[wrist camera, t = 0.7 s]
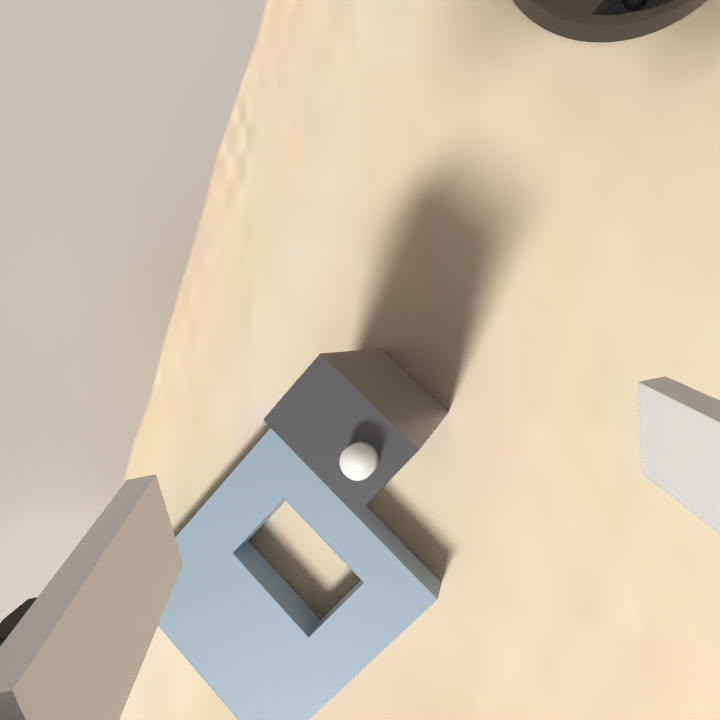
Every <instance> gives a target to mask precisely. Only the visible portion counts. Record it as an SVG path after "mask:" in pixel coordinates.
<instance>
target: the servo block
mask: <svg viewBox="0 0 720 720" xmlns="http://www.w3.org/2000/svg"><path fill="white" fill-rule="evenodd" d="M448 412H449V411H448V410H447V409H446V408H445V407H444V406H443V405H442V404H441V403H439V402H438V401H437V400H436V399H435V398H434V397H433V396H432V395H431V394H430V393H429V392H428V391H427V390H426V389H425V388H424V387H422V386H421V385H420V384H419V383H418V382H417V381H416V380H415V379H414V378H413V377H412V376H411V375H410V374H409V373H408V372H406V371H405V370H404V369H403V368H402V367H401V366H400V365H399V364H398V363H397V362H396V361H395V360H394V359H393V358H392V357H391V356H389V355H388V354H387V353H386V352H385V351H384V350H383V349H374V350H361V351H348V352H335V353H322V354H319V356H318V357H317V358H316V359H315V360H314V361H313V363H312V364H311V365H310V366H309V367H308V368H307V370H306V371H305V372H304V373H303V374H302V375H301V376H300V378H299V379H298V380H297V381H296V382H295V383H294V385H293V386H292V387H291V388H290V389H289V390H288V392H287V393H286V394H285V395H284V396H283V397H282V399H281V400H280V401H279V402H278V403H277V404H276V406H275V407H274V408H273V409H272V410H271V411H270V412H269V414H268V415H267V416H266V417H265V418H264V419H263V420H264V421H265V422H266V423H267V424H268V425H269V426H270V427H271V428H272V429H273V430H274V431H275V432H276V433H277V434H278V435H279V436H280V437H281V438H282V439H283V440H284V441H285V442H286V443H287V444H288V445H289V446H290V447H291V448H292V449H293V450H294V451H295V452H296V453H297V454H298V456H299V457H300V458H301V459H302V460H303V461H304V462H305V463H306V464H307V465H308V466H309V467H310V468H311V469H312V470H313V471H314V472H315V473H316V474H317V475H318V476H319V477H320V478H321V479H322V480H323V481H324V482H325V483H326V484H327V485H328V486H329V487H330V488H331V489H332V490H333V491H334V493H335V494H336V495H337V496H338V497H339V498H340V499H341V500H342V501H343V502H344V503H345V504H346V505H347V506H348V507H349V508H350V509H351V510H352V511H353V512H354V513H355V514H356V515H357V514H358V513H359V511H360V510H361V509H362V508H363V507H364V506H365V505H366V504H367V503H368V502H369V501H370V500H371V499H372V498H373V497H374V496H375V495H376V494H377V493H378V492H379V491H380V490H381V489H382V488H383V487H384V486H385V485H386V484H387V482H388V481H389V480H390V479H391V478H392V477H393V476H394V475H395V474H396V473H397V472H398V471H399V470H400V469H401V468H402V467H403V466H404V465H405V464H406V463H407V462H408V461H409V460H410V459H411V458H412V457H413V456H414V455H415V453H416V452H417V451H418V450H419V449H420V448H421V447H422V445H423V444H424V443H425V442H426V440H427V439H428V438H429V437H430V435H431V434H432V433H433V431H434V430H435V429H436V428H437V426H438V425H439V424H440V422H441V421H442V420H443V419H444V417H445V416H446V415H447V414H448Z"/></svg>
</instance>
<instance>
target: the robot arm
mask: <svg viewBox="0 0 720 720" xmlns="http://www.w3.org/2000/svg"><path fill="white" fill-rule="evenodd" d="M513 1H514V3H515V4H516V5H517V6H518V8H519V9H520V10H521V11H522V12H523V13H524V14H525V15H526V16H527V17H528V18H530V19H531V20H532V21H533V22H535V23H536V24H538V25H539V26H541V27H543V28H544V29H546V30H548V31H550V32H552V33H555V34H557V35H560V36H563V37H566V38H570V39H574V40H579V41H587V42H614V41H622V40H628V39H633V38H637V37H641V36H644V35H647V34H650V33H653V32H655V31H658V30H660V29H663V28H665V27H667V26H669V25H671V24H673V23H675V22H677V21H679V20H680V19H682V18H684V17H685V16H687V15H688V14H690V13H691V12H693V11H694V10H696V9H697V8H698V7H700V6H701V5H702V4H704V3H705V2H706V1H707V0H513ZM638 392H639V418H640V444H641V470H642V474H643V475H644V476H646V477H647V478H648V479H650V480H651V481H652V482H653V483H655V484H656V485H657V486H659V487H660V488H661V489H662V490H664V491H665V492H666V493H668V494H669V495H670V496H671V497H673V498H674V499H675V500H677V501H678V502H679V503H680V504H682V505H683V506H684V507H686V508H687V509H688V510H689V511H691V512H692V513H693V514H695V515H696V516H697V517H698V518H700V519H701V520H702V521H704V522H705V523H706V524H707V525H709V526H710V527H711V528H713V529H714V530H715V531H716V532H718V533H719V534H720V400H717V399H715V398H713V397H710V396H708V395H706V394H704V393H701V392H699V391H697V390H695V389H692V388H690V387H688V386H686V385H683V384H681V383H679V382H677V381H674V380H672V379H670V378H668V377H661V378H656V379H651V380H646V381H640V382H638ZM182 565H183V561H182V558H181V555H180V552H179V548H178V545H177V542H176V538H175V535H174V532H173V529H172V525H171V522H170V519H169V516H168V512H167V509H166V506H165V503H164V499H163V496H162V493H161V490H160V486H159V483H158V480H157V476H156V475H151V476H146V477H141V478H136V479H130V480H127V481H126V482H125V484H124V485H123V486H122V488H121V489H120V490H119V491H118V493H117V494H116V496H115V497H114V498H113V499H112V501H111V502H110V503H109V505H108V506H107V507H106V508H105V510H104V511H103V512H102V514H101V515H100V516H99V518H98V519H97V520H96V522H95V523H94V524H93V526H92V527H91V528H90V529H89V531H88V532H87V533H86V535H85V536H84V537H83V539H82V540H81V541H80V543H79V544H78V545H77V547H76V548H75V549H74V550H73V552H72V553H71V554H70V556H69V557H68V558H67V560H66V561H65V562H64V564H63V565H62V566H61V568H60V569H59V570H58V571H57V573H56V574H55V575H54V577H53V578H52V579H51V581H50V582H49V583H48V585H47V586H46V587H45V588H44V590H43V591H42V593H41V594H40V595H39V596H38V597H37V598H32V599H28V600H27V601H25V602H24V603H23V604H22V605H20V606H19V607H18V608H17V609H16V610H15V611H13V612H12V613H11V614H9V615H8V616H7V617H6V618H5V619H3V621H2V622H1V623H0V720H119V719H120V716H121V714H122V711H123V709H124V706H125V704H126V701H127V699H128V697H129V694H130V692H131V689H132V687H133V684H134V682H135V680H136V677H137V675H138V672H139V670H140V667H141V665H142V662H143V660H144V658H145V655H146V653H147V650H148V648H149V645H150V643H151V640H152V638H153V636H154V633H155V631H156V628H157V626H158V623H159V621H160V619H161V616H162V614H163V611H164V609H165V606H166V604H167V601H168V599H169V597H170V594H171V592H172V589H173V587H174V584H175V582H176V580H177V577H178V575H179V572H180V570H181V567H182Z"/></svg>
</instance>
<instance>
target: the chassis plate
mask: <svg viewBox="0 0 720 720" xmlns="http://www.w3.org/2000/svg"><path fill="white" fill-rule="evenodd" d="M285 500H286V501H287V502H288V503H289V504H290V505H291V506H292V507H293V508H294V510H295V511H296V512H297V513H298V514H299V515H300V516H301V517H302V518H303V519H304V520H305V521H306V522H307V523H308V524H309V525H310V526H311V527H312V529H313V530H314V531H315V532H316V533H317V534H318V535H319V536H320V537H321V538H322V539H323V540H324V541H325V542H326V543H327V544H328V545H329V546H330V547H331V549H332V550H333V551H334V552H335V553H336V554H337V555H338V556H339V557H340V558H341V559H342V560H343V561H344V562H345V563H346V564H347V565H348V566H349V568H350V569H351V570H352V571H353V572H354V573H355V574H356V575H357V576H358V577H359V578H360V579H361V580H360V581H359V582H358V583H357V584H356V585H355V586H354V587H353V588H352V589H351V590H350V591H349V592H348V593H347V594H346V595H345V596H344V597H343V598H342V599H341V600H340V601H339V602H338V603H337V604H336V605H335V606H334V607H333V608H332V609H331V610H330V611H329V612H328V613H327V614H326V615H325V616H324V617H323V618H322V619H320V618H319V617H318V616H317V615H316V614H315V613H314V611H313V610H312V609H311V608H310V607H309V606H308V605H307V604H306V603H305V602H304V601H303V599H302V598H301V597H300V596H299V595H298V594H297V593H296V592H295V591H294V590H293V589H292V587H291V586H290V585H289V584H288V583H287V582H286V581H285V580H284V579H283V578H282V577H281V575H280V574H279V573H278V572H277V571H276V570H275V569H274V568H273V567H272V566H271V565H270V563H269V562H268V561H267V560H266V559H265V558H264V557H263V556H262V555H261V554H260V552H259V551H258V550H257V549H256V548H255V547H254V546H253V545H252V544H251V543H250V542H249V540H250V538H251V537H252V536H253V535H254V534H255V533H256V532H257V531H258V530H259V529H260V528H261V526H262V525H263V524H264V523H265V522H266V521H267V520H268V519H269V518H270V517H271V516H272V514H273V513H274V512H275V511H276V510H277V509H278V508H279V507H280V506H281V505H282V504H283V502H284V501H285ZM175 538H176V542H177V545H178V548H179V552H180V555H181V558H182V561H183V565H182V567H181V570H180V572H179V575H178V577H177V580H176V582H175V584H174V587H173V589H172V592H171V594H170V597H169V599H168V601H167V604H166V606H165V609H164V611H163V614H162V616H161V619H160V621H159V623H158V626H159V627H160V628H161V629H162V630H163V632H164V633H165V634H166V635H167V636H168V638H169V639H170V640H171V641H172V642H173V643H174V645H175V646H176V647H177V648H178V649H179V651H180V652H181V653H182V654H183V655H184V656H185V658H186V659H187V660H188V661H189V662H190V664H191V665H192V666H193V667H194V668H195V669H196V671H197V672H198V673H199V674H200V675H201V677H202V678H203V679H204V680H205V681H206V683H207V684H208V685H209V686H210V687H211V688H212V690H213V691H214V692H215V693H216V694H217V696H218V697H219V698H220V699H221V700H222V701H223V703H224V704H225V705H226V706H227V707H228V709H229V710H230V711H231V712H232V713H233V714H234V716H235V717H236V718H237V719H238V720H309V719H310V718H311V717H312V716H313V715H314V714H315V713H317V712H318V711H319V710H320V709H321V708H322V707H323V706H324V705H325V704H326V703H327V702H328V701H329V700H330V699H331V698H333V697H334V696H335V695H336V694H337V693H338V692H339V691H340V690H341V689H342V688H343V687H344V686H345V685H346V684H348V683H349V682H350V681H351V680H352V679H353V678H354V677H355V676H356V675H357V674H358V673H359V672H360V671H361V670H362V669H364V668H365V667H366V666H367V665H368V664H369V663H370V662H371V661H372V660H373V659H374V658H375V657H376V656H377V655H378V654H380V653H381V652H382V651H383V650H384V649H385V648H386V647H387V646H388V645H389V644H390V643H391V642H392V641H393V640H394V639H396V638H397V637H398V636H399V635H400V634H401V633H402V632H403V631H404V630H405V629H406V628H407V627H408V626H409V625H410V624H412V623H413V622H414V621H415V620H416V619H417V618H418V617H419V616H420V615H421V614H422V613H423V612H424V611H425V610H427V609H428V608H429V607H430V606H431V605H432V604H433V603H434V602H435V601H436V600H437V599H438V595H439V591H440V587H441V583H442V582H441V581H440V580H439V579H438V578H437V577H436V576H435V575H434V574H433V573H432V572H431V571H430V570H429V569H428V568H427V567H426V566H425V565H424V564H423V563H422V562H421V561H420V560H419V559H418V558H417V557H416V556H415V555H414V554H413V553H412V551H411V550H410V549H409V548H408V547H407V546H406V545H405V544H404V543H403V542H402V541H401V540H400V539H399V538H398V537H397V536H396V535H395V534H394V533H393V532H392V531H391V530H390V529H389V528H388V527H387V526H386V525H385V524H384V523H383V522H382V521H381V520H380V519H379V518H378V517H377V516H376V515H375V514H374V513H373V512H372V511H371V510H370V509H369V508H368V507H367V506H366V505H365V506H364V507H363V508H362V509H361V510H360V511H359V513H358V514H357V515H356V514H355V513H354V512H353V511H352V510H351V509H350V508H349V507H348V506H347V505H346V504H345V503H344V502H343V501H342V500H341V499H340V498H339V497H338V496H337V495H336V494H335V493H334V491H333V490H332V489H331V488H330V487H329V486H328V485H327V484H326V483H325V482H324V481H323V480H322V479H321V478H320V477H319V476H318V475H317V474H316V473H315V472H314V471H313V470H312V469H311V468H310V467H309V466H308V465H307V464H306V463H305V462H304V461H303V460H302V459H301V458H300V457H299V456H298V454H297V453H296V452H295V451H294V450H293V449H292V448H291V447H290V446H289V445H288V444H287V443H286V442H285V441H284V440H283V439H282V438H281V437H280V436H279V435H278V434H277V433H276V432H275V431H274V430H273V429H272V428H270V429H269V430H268V431H267V433H266V434H265V435H264V436H263V437H262V438H261V440H260V441H259V442H258V443H257V444H256V445H255V446H254V448H253V449H252V450H251V451H250V452H249V453H248V454H247V456H246V457H245V458H244V459H243V460H242V461H241V463H240V464H239V465H238V466H237V467H236V468H235V469H234V471H233V472H232V473H231V474H230V475H229V476H228V477H227V479H226V480H225V481H224V482H223V483H222V484H221V486H220V487H219V488H218V489H217V490H216V491H215V492H214V494H213V495H212V496H211V497H210V498H209V499H208V500H207V502H206V503H205V504H204V505H203V506H202V507H201V509H200V510H199V511H198V512H197V513H196V514H195V515H194V517H193V518H192V519H191V520H190V521H189V522H188V523H187V525H186V526H185V527H184V528H183V529H182V530H181V531H180V533H179V534H178V535H177V536H176V537H175Z"/></svg>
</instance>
